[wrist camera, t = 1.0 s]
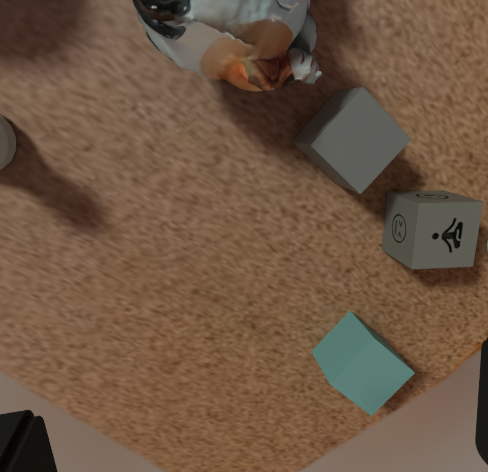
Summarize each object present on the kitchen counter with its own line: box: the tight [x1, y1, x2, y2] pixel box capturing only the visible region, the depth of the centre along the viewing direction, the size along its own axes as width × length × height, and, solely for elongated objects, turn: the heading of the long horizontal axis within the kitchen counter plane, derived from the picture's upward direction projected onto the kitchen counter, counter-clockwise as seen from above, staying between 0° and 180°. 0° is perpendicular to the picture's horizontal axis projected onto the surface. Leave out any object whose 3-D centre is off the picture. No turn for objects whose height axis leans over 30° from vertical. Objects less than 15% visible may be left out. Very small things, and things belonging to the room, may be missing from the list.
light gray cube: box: [292, 87, 411, 194], centre depth 31 cm, size 5×5×5 cm
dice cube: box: [382, 191, 483, 269], centre depth 34 cm, size 5×5×5 cm
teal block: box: [312, 311, 415, 416], centre depth 37 cm, size 5×5×5 cm
